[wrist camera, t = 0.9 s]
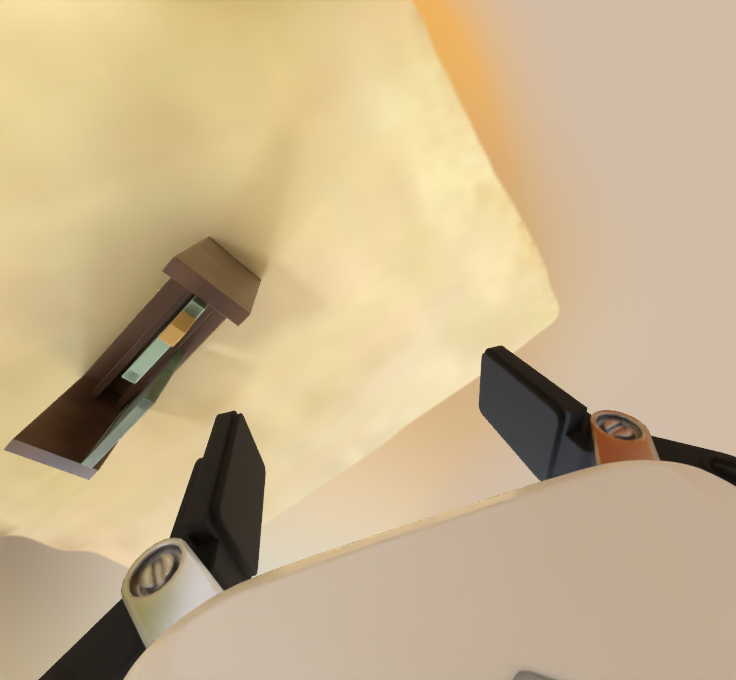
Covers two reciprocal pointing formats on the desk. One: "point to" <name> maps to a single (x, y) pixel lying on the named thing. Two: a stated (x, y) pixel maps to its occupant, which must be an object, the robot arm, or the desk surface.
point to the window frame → (104, 379)
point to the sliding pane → (166, 339)
